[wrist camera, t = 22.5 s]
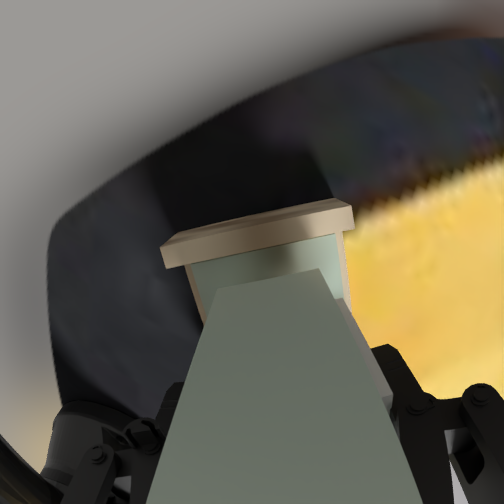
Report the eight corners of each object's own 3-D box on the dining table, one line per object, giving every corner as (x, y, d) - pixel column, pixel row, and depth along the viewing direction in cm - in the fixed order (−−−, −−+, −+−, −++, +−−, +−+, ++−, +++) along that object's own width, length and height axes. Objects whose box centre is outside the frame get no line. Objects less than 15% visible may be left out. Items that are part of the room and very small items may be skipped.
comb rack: (246, 431, 23) (244, 461, 20) (177, 232, 18) (159, 247, 15) (354, 411, 23) (364, 440, 19) (334, 197, 18) (351, 205, 14)
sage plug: (241, 367, 16) (219, 579, 4) (217, 288, 14) (135, 539, 3) (330, 351, 15) (387, 560, 4) (318, 267, 14) (427, 516, 2)
